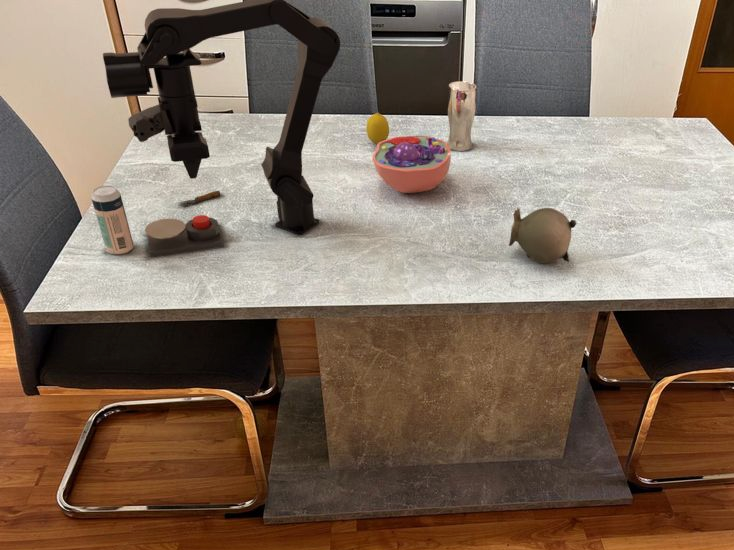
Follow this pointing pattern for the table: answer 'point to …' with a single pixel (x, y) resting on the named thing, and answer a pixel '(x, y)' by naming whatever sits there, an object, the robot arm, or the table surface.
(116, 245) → the beer can
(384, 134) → the lemon
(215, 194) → the can opener
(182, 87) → the robot arm
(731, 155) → the table surface
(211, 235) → the warmer
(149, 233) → the warming plate
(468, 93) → the cream vase
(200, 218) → the button
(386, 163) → the cell model
